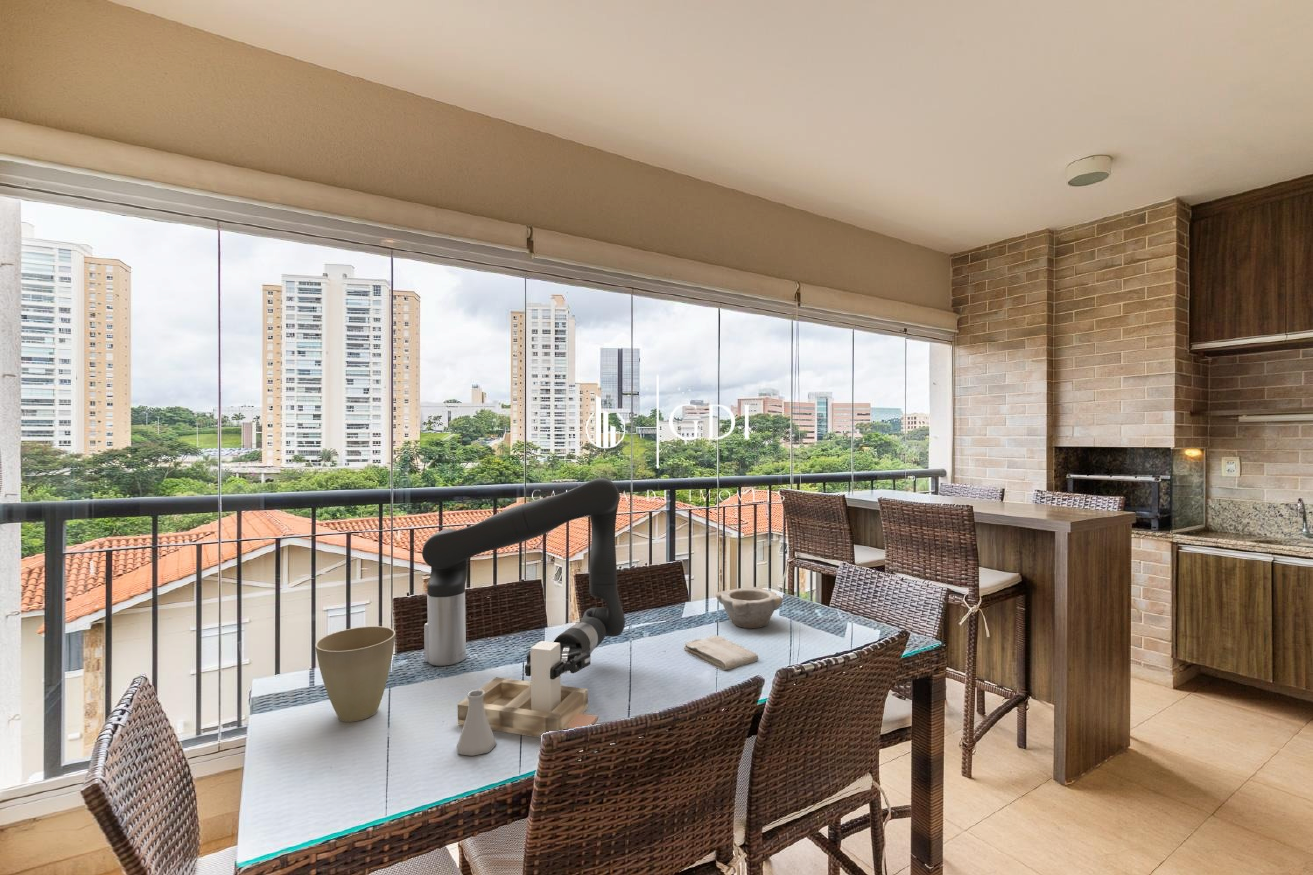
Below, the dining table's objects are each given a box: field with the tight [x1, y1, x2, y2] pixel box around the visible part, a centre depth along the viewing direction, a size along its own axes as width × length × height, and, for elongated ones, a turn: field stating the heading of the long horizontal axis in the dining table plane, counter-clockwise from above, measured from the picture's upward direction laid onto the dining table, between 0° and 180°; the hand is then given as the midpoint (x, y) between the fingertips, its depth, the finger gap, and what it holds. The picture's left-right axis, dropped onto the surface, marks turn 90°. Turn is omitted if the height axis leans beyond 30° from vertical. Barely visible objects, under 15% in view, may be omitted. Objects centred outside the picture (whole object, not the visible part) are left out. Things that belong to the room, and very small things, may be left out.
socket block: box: [457, 676, 599, 739], centre depth 123 cm, size 26×14×4 cm, turn 73°
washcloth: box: [683, 635, 759, 671], centre depth 156 cm, size 12×18×3 cm, turn 35°
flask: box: [456, 689, 497, 756], centre depth 112 cm, size 7×7×10 cm
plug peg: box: [529, 640, 562, 713], centre depth 122 cm, size 4×4×14 cm
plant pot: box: [314, 625, 396, 723], centre depth 125 cm, size 15×15×16 cm
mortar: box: [715, 586, 783, 629], centre depth 182 cm, size 17×17×9 cm
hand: (539, 672), depth 119 cm, fingers open, 5 cm apart
